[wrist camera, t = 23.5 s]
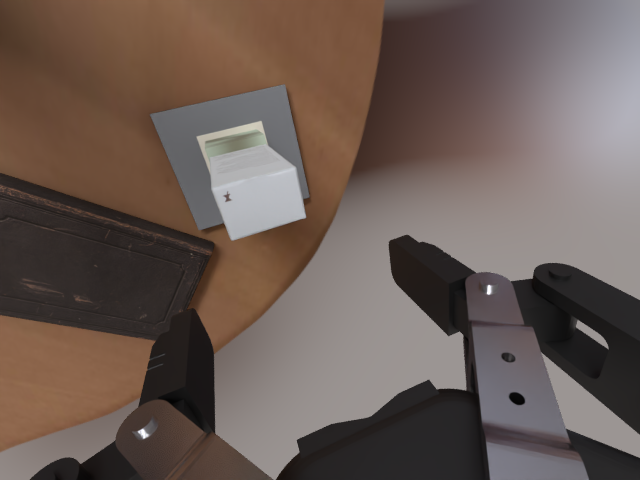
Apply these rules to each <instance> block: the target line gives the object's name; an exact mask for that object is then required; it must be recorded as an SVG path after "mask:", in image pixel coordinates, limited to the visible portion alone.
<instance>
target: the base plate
mask: <svg viewBox="0 0 640 480" xmlns="http://www.w3.org/2000/svg"><path fill="white" fill-rule="evenodd" d="M150 116H151V118H152V121H153V123H154V125H155V128H156V130H157V132H158V135H159V137H160V140H161V142H162V144H163V147H164V149H165V151H166V154H167V156H168V158H169V161H170V163H171V165H172V168H173V170H174V173H175V175H176V177H177V180H178V182H179V184H180V187H181V189H182V191H183V194H184V196H185V199H186V201H187V203H188V206H189V208H190V210H191V213H192V215H193V217H194V220H195V222H196V224H197V227H198V229H199V230H202V229H205V228H209V227H212V226H215V225H219V224H222V223H224V221H223V219H222V216H221V213H220V211H219V208H218V206H217V203H216V200H215V198H214V195H213V193H212V190H211V175H210V162H209V159H208V156H207V154H206V151H205V141H208V140H213V139H217V138H221V137H225V136H230V135H234V134H238V133H242V132H247V131H251V130H255V129H257V130H259V131H260V132H262V133H263V134H264V135H265V139H266V143H267V145H268V146H269V147H271V148H272V149H273V150H275V151H276V152H277V153H278V154H280V155H281V156H282V157H283V158H285V159H286V160H287V161H289V162H290V163H291V164H292V165H294V166H295V167H296V168H297V172H298V177H299V182H300V187H301V192H302V197H303V199H305V198H309V197H310V196H309V192H308V187H307V183H306V178H305V174H304V169H303V164H302V160H301V155H300V151H299V146H298V142H297V137H296V133H295V128H294V124H293V119H292V115H291V110H290V106H289V101H288V97H287V92H286V88H285V84H284V85H279V86H275V87H270V88H266V89H261V90H257V91H252V92H248V93H243V94H239V95H234V96H230V97H225V98H221V99H216V100H212V101H207V102H203V103H198V104H194V105H189V106H185V107H180V108H176V109H171V110H167V111H162V112H158V113H153V114H150Z"/></svg>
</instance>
